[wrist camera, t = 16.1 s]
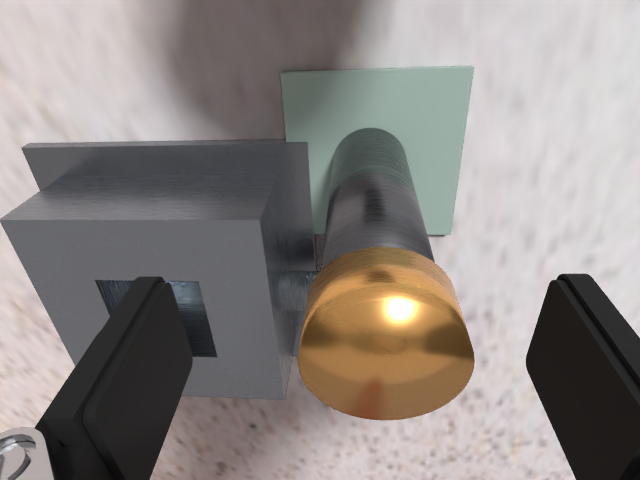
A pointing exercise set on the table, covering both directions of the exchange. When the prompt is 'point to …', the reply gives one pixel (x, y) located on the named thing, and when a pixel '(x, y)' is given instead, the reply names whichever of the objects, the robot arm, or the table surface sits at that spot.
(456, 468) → the table surface
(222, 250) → the block
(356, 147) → the grey and gold cylinder
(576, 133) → the table surface
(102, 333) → the robot arm
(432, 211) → the pad
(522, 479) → the table surface
